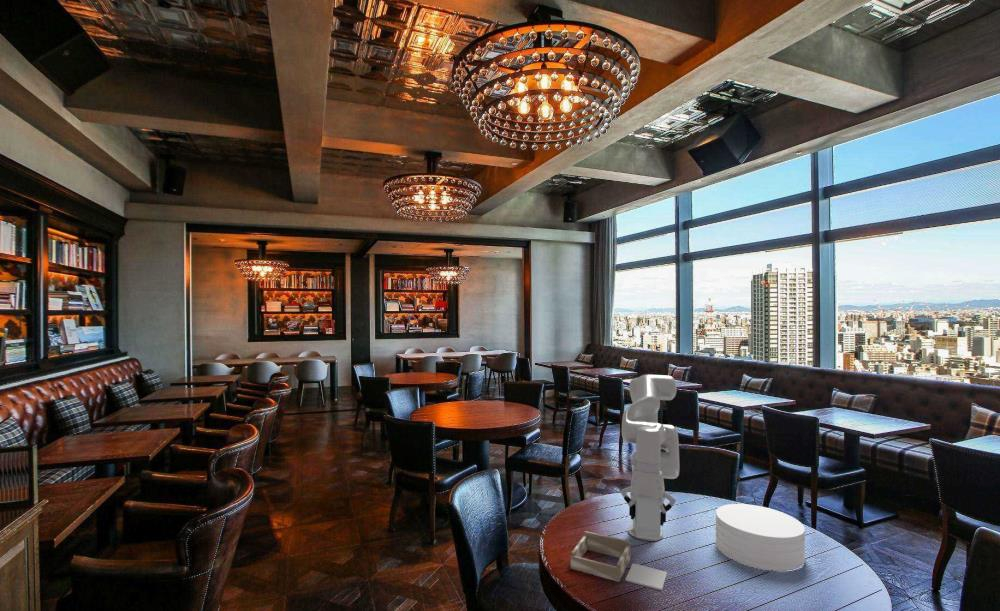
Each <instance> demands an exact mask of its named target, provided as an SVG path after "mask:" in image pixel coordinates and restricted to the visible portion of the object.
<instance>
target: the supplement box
mask: <svg viewBox="0 0 1000 611" xmlns="http://www.w3.org/2000/svg"><path fill="white" fill-rule="evenodd" d="M660 514H661V506H657V500H656V499H653V498H648V497H642V496H637V501H636V502H635V532H636V537H637V538H645V539H654V540H657V541H661V539H660V530H661V525H660ZM637 538H636V539H637Z"/></svg>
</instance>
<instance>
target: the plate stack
mask: <svg viewBox="0 0 1000 611" xmlns="http://www.w3.org/2000/svg"><path fill="white" fill-rule="evenodd" d="M805 534H806V527H805V525H804V524H803V523H802V522H801V521H799V520H798V519H797V518H795V517H794V516H792V515H789V514H787V513H785V512H782V511H779V510H777V509H774V508H770V507H766V506H762V505H756V504H747V503H728V504H724V505H721V506H718V508H716V510H715V546H716V548H717V547H718V548H717V549H718V550H719V552H720V551H721V552H720V553H721V554H723V555H724V556H725V555H726V557H727V558H729V559H730V558H731V559H730V560H732V559H733V560H732V561H734V560H735V561H734V562H736V561H737V562H736V563H738V562H739V563H738V564H741V565H743V564H744V566H746V565H747V567H750V568H752V567H754V568H753V569H756V568H758V569H757V570H760V569H765V570H773V571H787V570H793V569H796V568H799V567H800V566H802V565H803V564H804V562H805V561H806V558H805V557H806V550H805V548H806V544H805V542H806V535H805ZM805 563H806V562H805ZM804 565H805V564H804ZM765 570H764V571H765Z"/></svg>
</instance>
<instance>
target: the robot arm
mask: <svg viewBox="0 0 1000 611" xmlns="http://www.w3.org/2000/svg"><path fill="white" fill-rule="evenodd" d="M677 386H678V385H677V382H676V380H675V378H674V377H673V376H671V375H664V374H648V373H647V374H642V375H640V376H639V377H634V378H632V379H631V380H630V382H629V387H628V388H629V396H630V399H631V402H632V403H631V404H629V405H628V407H627V408H626V409H625V410H624V412H623V414H622V422H621V436H622V439H623V441H624V442H626V443H628V444H632V445H633V444H634V445H635V447H636V448H635V451H634V452H633V453H632V454H631V458H630V459H631V460H630V462H631V463H630V464H631V470H632V474H631V481H630V485H628V486H626V487H624V488H622V489H621V490H620V494H621V496H622V497H623V500H624V501H625V503H627V506H628V507H629V508H628V509H629V510H628V514H629V516H630V520H632V525H629V526H628V533H629V535H630V536H632V537H634V538H636V539H638V540H641V541H647V542H656V541H658V540H654V539H645V538H637V537H636V532H635V502H636V501H637V496H642V497H648V498H653V499H656V500H657V506H661V514H660V527H663V525H664V523H666V521H667V512H668V511H670V510H671V509H672V507H673V506H674V505H675V503H676V501H677V499H676V498H674V497H673V495H672V496H671V495H670V493H667V491H666V490H665V481H664V480H665V479H669V480H674V479H677V478H678V477H679V476H680V448H679V446H680V445H679V443H680V442H679V433H678V430H677V428H676V427H675V426H674V425H672V424H664V423H659V421H658V419H659V415H658V414H659V413H658V412H659V410H660V407H661V401H672V400H673V399H674V398H675V397H676V395H677V389H678V388H677ZM661 450H664V451H661ZM629 492H630V493H629ZM628 493H629V494H630V495H628ZM666 499H667V500H668V501H669V503H667V504H665V500H666ZM663 537H664V533H663V530H661V529H660V540H662V538H663Z"/></svg>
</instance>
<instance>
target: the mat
mask: <svg viewBox="0 0 1000 611" xmlns="http://www.w3.org/2000/svg"><path fill="white" fill-rule="evenodd" d="M628 570H629V571H628V573H627V575H626V577H625V582H628V583H631V584H636V585H639V586H643V587H647V588H650V589H654V590H659V591H663V589H664V585H665V582H666V579H667V576H668V571H665V570H661V569H656V568H652V567H649V566H646V565H641V564H637V563H634V562H633V563H632V564H631V567H630V569H628Z"/></svg>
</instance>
